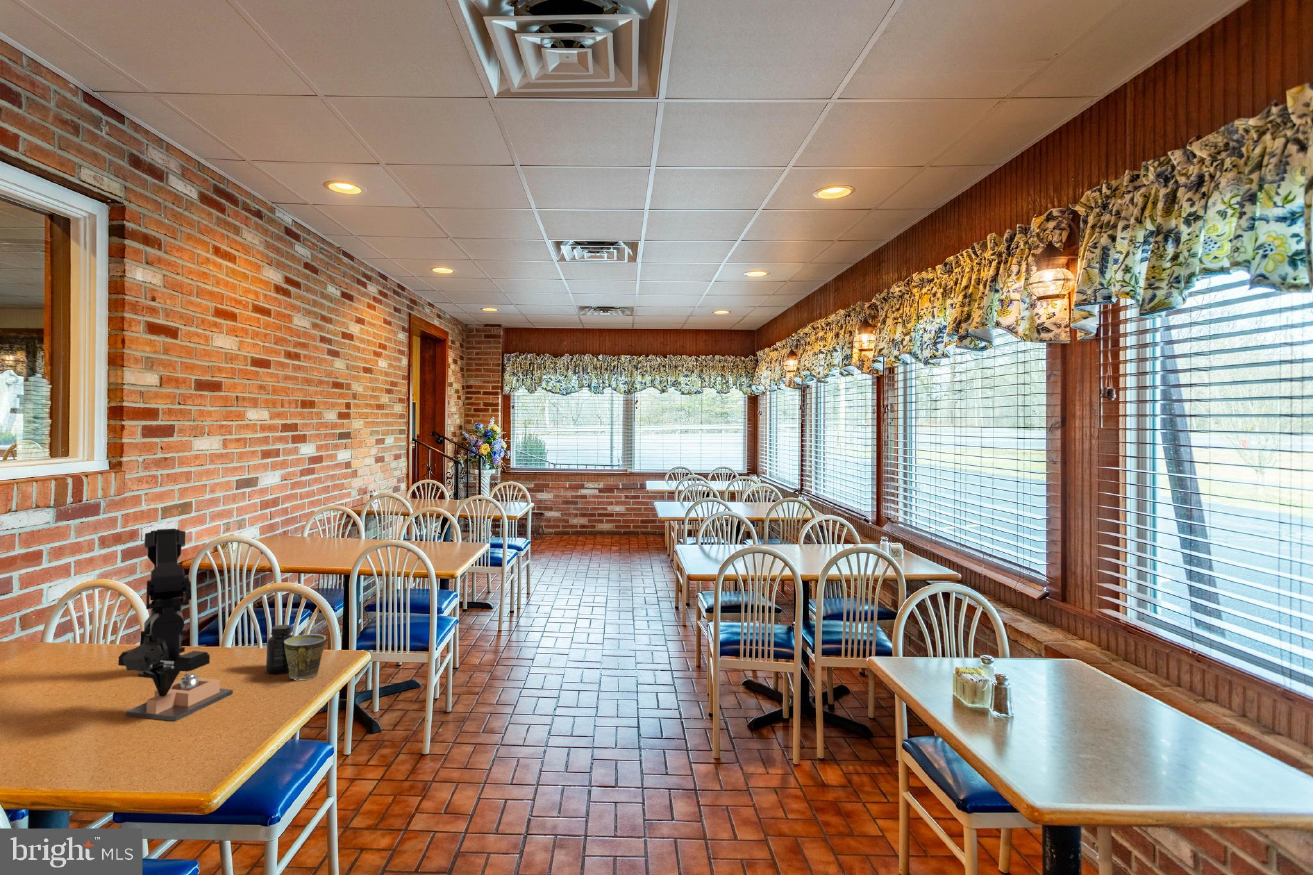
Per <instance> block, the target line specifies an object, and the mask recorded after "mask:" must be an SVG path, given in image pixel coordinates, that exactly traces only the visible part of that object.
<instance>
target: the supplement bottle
mask: <svg viewBox="0 0 1313 875" xmlns="http://www.w3.org/2000/svg"><path fill="white" fill-rule="evenodd" d="M292 631H293V630H292V625H291V624H279V625H274V626H272V627H271V632H270V634H271V636H270V637H269V638H268V639H267V641H266V657H265V658H266V660H265V662H266V663H265V669H266V672H267V673H268V674H271V675H279V674H285V673H289V672H288V671H289V670H288V664H287V658H286V654H285V647H284V641H285V640H286V639H288V638H291V637H294V636H295V635H293V634H292ZM284 672H285V673H284Z"/></svg>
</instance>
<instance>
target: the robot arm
mask: <svg viewBox="0 0 1313 875" xmlns="http://www.w3.org/2000/svg"><path fill="white" fill-rule="evenodd" d="M186 534H187V533H186V531H185V530H180V529H179V528H178V529H177V528H159V529H156V530H150V532H145V533H144V539H143V540H144V544H143V545H144V547H143V549H144V550H147V558H148V560H150V562H151V563H152V564H153V569H152V570H151V571H150V579H149V580H147V581H146V592H145V593H146V594H145V596H146V597H145V598H146V599H145V608H146V610H150V615H149V616H148V617H147V619H145V621H144V624H143V625H144V626H143V630H142V631H140V637H139V645H138V646H137V647H134V648H131V649H127V650H125V651H123V652H121V653H120V655H119V656H118V663H117V664H118V666H121V667H125V669H126V670H127V671H137V672H138V673H137V676H139V677H148V678H149V677H150V678H151V679H152V681H153V683H154V686H155V688H156V690H157V691H158V693H159V696H165V695H167V693H168V691H169V690H170V688H171V686H172V684H173V683H174V682H176V681H175V680H176V679H177V677H178V675H179V674H180V672H192V671H194V670H196V669H199V668H201V667H204V666H207V665H209V664H210V663H211V662H210V661H211V660H210V659H211V655H210V654H209V653H208V652H207V651H199V650H193V651H190V652H188V653H184V652H186V651H185V650H186V649H185V648H186V647H184V646H183V637H184V636H183V635H186V629H184V627H185V620H184V616H183V613H182V610H183V606H187V605H189V600H190V601H191V600H192V582H191V580H190V578H189V577H188V576H185V568H183V567H182V566H180V565H179V563H178V559H179V558H180V556H181V554H182V547H185V546H186ZM150 601H151V602H150ZM182 653H184V654H182Z"/></svg>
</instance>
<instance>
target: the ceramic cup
mask: <svg viewBox="0 0 1313 875" xmlns="http://www.w3.org/2000/svg"><path fill="white" fill-rule="evenodd" d="M293 636H294V637H291V638H288V639H286V640H285V641H284V647H285V654H286V658H287V664H288V670H289V672H288V676H289V679H290V678H291V679H296V680H299V679H309V678H312V677H314V676H316V677H317V676H318V674H319V669H320V666H321V660H322V657H323V653H324V649H325V646H326V641H327V636H326V635H323V634H319V633H306V634H300V635H299V634H298V635H293ZM314 678H315V677H314ZM291 679H290V680H291ZM312 679H313V678H312ZM309 680H310V679H309Z"/></svg>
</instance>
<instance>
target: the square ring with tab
mask: <svg viewBox="0 0 1313 875" xmlns="http://www.w3.org/2000/svg"><path fill="white" fill-rule="evenodd" d="M180 685H181V679H179V680H177V681H174V682H173V684H172V686H171V688H170V690H169V691H168V693H167V695H165V696H159V693H158V691H157V689H155V690H154V697H151V698H149V699H146V703H147V711H146V713H149V714H158V713H160V712H162V711H164V710H167V709H169V708H171V707H173V706H175V705H177V706H186V707H188V706H190V705H193V704H195V703H197V702H199V701H201V700H203V699H205V698H208V697H210V696H212V695H214V694H216V693H218V692H220V689H221V679H217V678H216V679H215V678H204V677H199V679H198V687H196V688H194V689H191V690H189V691H185V690H180Z"/></svg>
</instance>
